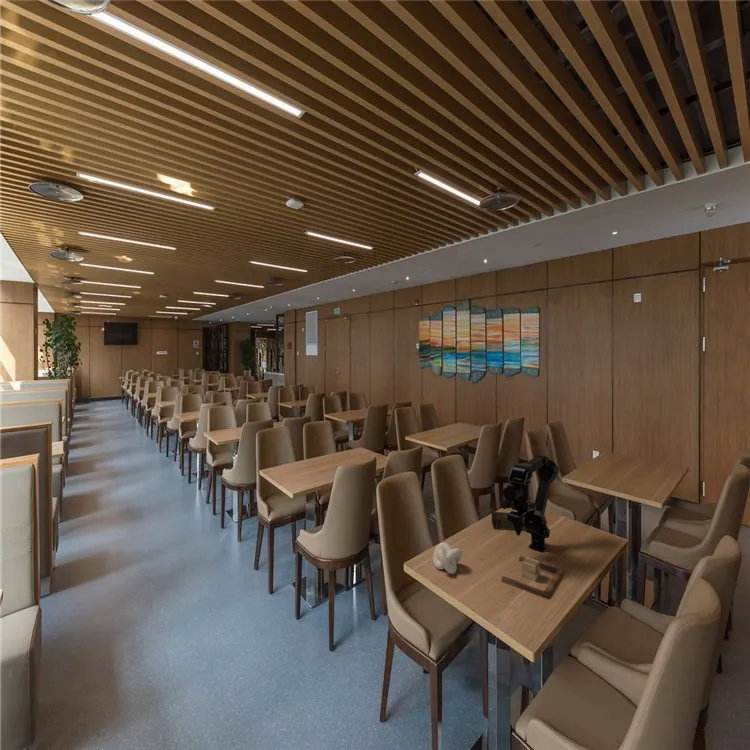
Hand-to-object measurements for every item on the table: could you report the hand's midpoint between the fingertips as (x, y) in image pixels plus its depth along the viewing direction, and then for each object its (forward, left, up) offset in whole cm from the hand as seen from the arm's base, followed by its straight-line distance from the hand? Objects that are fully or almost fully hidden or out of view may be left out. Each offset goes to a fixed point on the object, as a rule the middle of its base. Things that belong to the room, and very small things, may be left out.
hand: (522, 531), depth 156 cm
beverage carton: (-27, -15, -12) cm, 33 cm away
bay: (+11, +7, -12) cm, 18 cm away
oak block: (+11, +7, -12) cm, 18 cm away
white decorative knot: (+26, -22, -12) cm, 36 cm away
